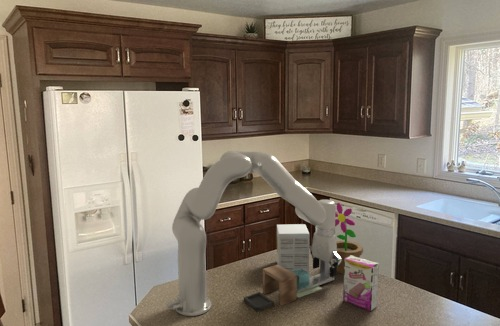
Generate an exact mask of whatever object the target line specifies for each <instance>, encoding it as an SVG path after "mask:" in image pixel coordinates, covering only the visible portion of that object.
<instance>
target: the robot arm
mask: <svg viewBox="0 0 500 326" xmlns="http://www.w3.org/2000/svg"><path fill="white" fill-rule="evenodd" d="M249 174H257V175H259V176H260V177H261V178H262V180H264V181H265V183H267V184H268V185H269V186H270V187H271V188H272V190H273V191H274V192H275V193H276V194H277V195H278V196H279V197H280V198H282V199H283V200H284V201H286V202H287V203H289V204H291V205H292V206H294V207H295V209H294V211H295V214H296V215H297V216H298V218H300V219H301V220H303V221H305V222H307V223H309V224H311V225H312V226H314V227H315V232H314V233H313V237H312V244H311V245H309V254H310V255H311V258H312V269H313V270H314V269H318V268H320V259H321V260H323V261H325V262H329V263H330V264H329V275H330V277H334V278H335V277H336V276H337V273H338V272H337V266H338V265H340V262H341V261H342V259H341V257H340V256H339V255H338V254H337V243H336V241H337V235H336V226H335V219H336V217H335V212H336V210H337V204H336V202H335V201H334V200H331V199H320V200H317V198H316V197H315V196H314V195H313V194H312V193H311V192H310V191H308V190H307V189H306V188H305V187H304V186H303V185H302V184H301V183H300V182H299V181H297V180H296V179H295V178H294V176H293V175H292V174H291V173H290V172H289V171H288V169H287V168H285V166H284V165H283V164H282V163H281V162H280V161H279V160H278V159H277V157H276V156H274V155H272V154H271V153H266V152H263V151H242V150H241V151H239V150H230V151H226V152H224V153H222V155H221V156H220V158H219V160H218V161H216V162H215V163H214V164H212V165H211V166H210V167H209V168H208V169H207V171H206V172H205V174H204V176H203V178H202V180H201V182H200V183H199V186H198V187H194V188H192V189H190V190H188V191H187V192H186V194H185V196H184V197H183V199H182V201H181V202H180V205H179V207H178V210H177V212H176V213H175V216H174V219H173V222H172V226H171V227H172V228H171V229H172V233H173V235H174V237H175V239H176V241H177V247H178V248H177V271H178V272H177V273H178V293H179V294H178V295H176V298H175V299H174V300H173V301H169V302H166V303H165V306H166V309H170V308H172V310H175V311H176V312H177V313H178V314H180V315H181V316H186V317H187V316H188V317H194V316H195V317H196V316H199V315H200V316H201V315H202V314H205V313H206V312H209V310H210V309H211V308H212V301H211V300H210V298H208V297H207V269H206V267H207V266H206V248H207V233H206V231H205V229H204V227H203V225H202V224H201V221H203V220H204V221H205V220H208V219H210V218H212V216H213V215H214V214H215V212H216V210H217V207H218V205H219V204H220V201H221V198H222V196H223V194H224V192H225V190H226V188H227V187H228V185H229V184H230V183H231V182H232V181H234V180H236V179H240V178H243V177H246V176H247V175H249ZM332 261H333V262H334V264H333V263H332Z"/></svg>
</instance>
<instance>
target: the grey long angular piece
mask: <svg viewBox="0 0 500 326" xmlns="http://www.w3.org/2000/svg"><path fill="white" fill-rule="evenodd" d="M292 273H294V274H296V275H297V292H301V291H304V290H307V289H310V288H313V287H315V286H320V285H324V284H326V283H329V282H332V281H335V276H334V277H330V263H329V262H325V261H323V260H321V259H320V263H319V273H318V274H315V275H312V276H310V272H309V273H308V272H306V271H304V270H302V269H298V270H295V271H292Z"/></svg>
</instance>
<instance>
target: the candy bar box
mask: <svg viewBox="0 0 500 326" xmlns="http://www.w3.org/2000/svg"><path fill="white" fill-rule="evenodd" d="M379 268H380V263H379V262H375V261H372V260H368V259H364V258H362V257H360V258H359V257H356V256H352V255H350V256H348V257H347V258H345V259H344V274H343V293H342V295H343V298H342V301H343V302H345V303H348V304H351V305H353V306H356V307H359V308H361V309H365V310H366V311H368V312H369V311H370V312H372V311H373V310H375V308H377V306H378V292H379V272H380V271H379Z"/></svg>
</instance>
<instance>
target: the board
mask: <svg viewBox="0 0 500 326" xmlns="http://www.w3.org/2000/svg"><path fill="white" fill-rule="evenodd" d="M321 290H323V288H322V287H321V286H320V285H318V286H315V287H313V288H310V289H307V290H304V291H301V292H297V298H298V299H299V298H301V297H305V296H307V295H310V294H312V293H316V292H318V291H321Z"/></svg>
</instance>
